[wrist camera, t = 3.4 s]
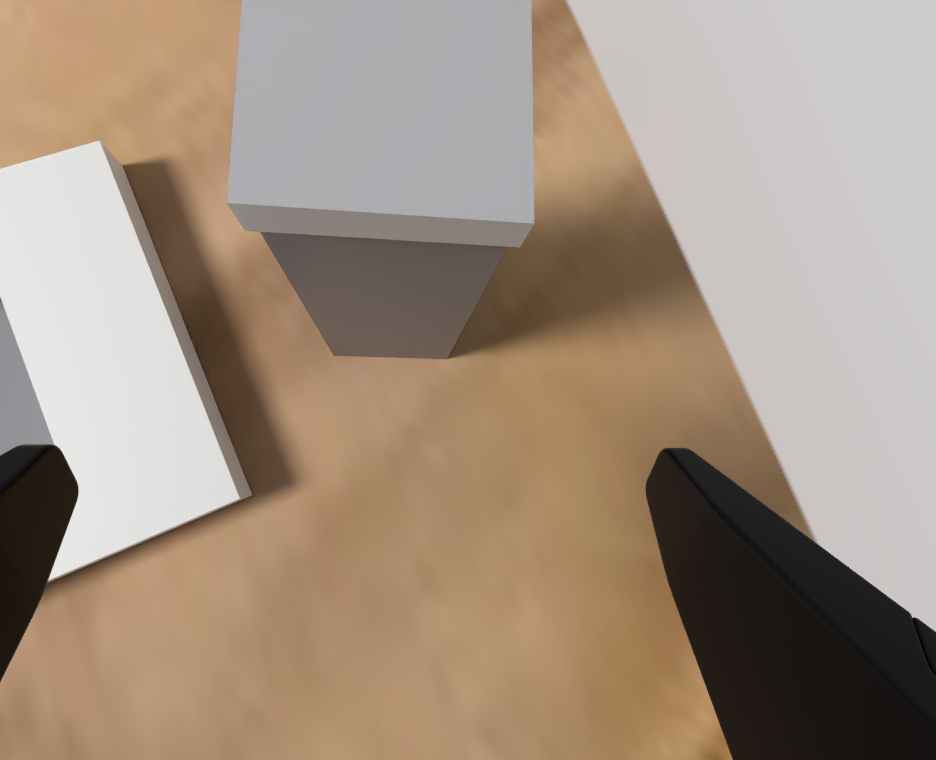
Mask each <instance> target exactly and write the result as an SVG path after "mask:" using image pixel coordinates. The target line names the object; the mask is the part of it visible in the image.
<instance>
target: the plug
mask: <svg viewBox="0 0 936 760" xmlns="http://www.w3.org/2000/svg"><path fill="white" fill-rule="evenodd" d="M227 204H228V205H229V207H230V208H231V210H232V211H233V213H234V215H235V216H236V218H237V219H238V221H239V222H240V224H241V225H242V227H243V228H244V230H245V231H257V232H261V234H262V236H263V237H264V239H265V241H266V242H267V244H268V246H269V247H270V249H271V251H272V252H273V254H274V256H275V258H276V259H277V261H278V263H279V264H280V266H281V268H282V269H283V271H284V273H285V274H286V276H287V278H288V279H289V281H290V283H291V284H292V286H293V288H294V289H295V291H296V293H297V295H298V296H299V298H300V300H301V301H302V303H303V305H304V306H305V308H306V310H307V311H308V313H309V315H310V316H311V318H312V320H313V321H314V323H315V325H316V326H317V328H318V330H319V331H320V333H321V335H322V337H323V338H324V340H325V342H326V343H327V345H328V347H329V348H330V350H331V352H332V353H333V355H334V356H365V357H398V358H431V359H447V358H448V356H449V354H450V352H451V351H452V349H453V347H454V345H455V343H456V341H457V340H458V338H459V336H460V334H461V332H462V330H463V328H464V327H465V325H466V323H467V321H468V319H469V317H470V316H471V314H472V312H473V310H474V308H475V306H476V305H477V303H478V301H479V299H480V297H481V295H482V294H483V292H484V290H485V288H486V286H487V284H488V282H489V281H490V279H491V277H492V275H493V273H494V271H495V270H496V268H497V266H498V264H499V262H500V260H501V259H502V257H503V255H504V253H505V251H506V249H507V247H521V245H522V243H523V242H524V240H525V238H526V237H527V235H528V234H529V232H530V230H531V229H532V227H533V225H534V157H533V90H532V23H531V0H242V10H241V24H240V37H239V50H238V63H237V76H236V89H235V102H234V116H233V129H232V142H231V155H230V168H229V181H228V195H227Z"/></svg>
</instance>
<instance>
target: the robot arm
mask: <svg viewBox="0 0 936 760" xmlns="http://www.w3.org/2000/svg"><path fill="white" fill-rule="evenodd" d="M78 494H79V488H78V483H77V480H76V478H75V476H74V474H73V472H72V470H71V468H70V466H69V464H68V462H67V460H66V458H65V456H64V454H63V452H62V451H61V449H60V448H59V447H57V446H56V445H53V444H21V445H18V446H16V447H14V448H12V449H10V450H9V451H7V452H5V453H3V454H2V455H0V682H1V680H2V677H3V675H4V673H5V671H6V669H7V667H8V665H9V663H10V661H11V659H12V657H13V655H14V653H15V651H16V649H17V647H18V645H19V643H20V641H21V639H22V637H23V635H24V633H25V631H26V629H27V627H28V625H29V623H30V621H31V619H32V617H33V615H34V613H35V610H36V608H37V606H38V604H39V602H40V600H41V597H42V595H43V592H44V590H45V587H46V585H47V582H48V579H49V577H50V574H51V571H52V568H53V566H54V563H55V560H56V557H57V555H58V552H59V549H60V546H61V544H62V541H63V538H64V536H65V533H66V530H67V527H68V525H69V522H70V519H71V516H72V514H73V511H74V508H75V505H76V503H77V499H78ZM646 497H647V501H648V505H649V509H650V513H651V517H652V521H653V525H654V529H655V533H656V537H657V541H658V545H659V549H660V553H661V557H662V561H663V565H664V569H665V573H666V576H667V580H668V583H669V586H670V589H671V592H672V595H673V598H674V600H675V603H676V606H677V609H678V611H679V614H680V617H681V619H682V622H683V625H684V628H685V630H686V633H687V636H688V639H689V641H690V644H691V647H692V650H693V652H694V655H695V658H696V660H697V663H698V666H699V669H700V671H701V674H702V677H703V680H704V682H705V685H706V688H707V690H708V693H709V696H710V699H711V701H712V704H713V707H714V710H715V712H716V715H717V718H718V720H719V723H720V726H721V729H722V731H723V734H724V737H725V740H726V742H727V745H728V748H729V750H730V753H731V756H732V759H733V760H936V632H935V631H934V630H932V629H931V628H930V627H928V626H927V625H926V624H924V623H923V622H922V621H920V620H919V619H917V618H912V616H911V614H910V613H909V612H908V611H906V610H905V609H904V608H903V607H901V606H900V605H898V604H897V603H896V602H894V601H893V600H892V599H890V598H889V597H887V596H886V595H885V594H884V593H882V592H881V591H880V590H878V589H877V588H876V587H874V586H873V585H872V584H870V583H869V582H867V581H866V580H865V579H864V578H862V577H861V576H859V575H858V574H857V573H856V572H854V571H853V570H851V569H850V568H849V567H847V566H846V565H845V564H843V563H842V562H841V561H839V560H838V559H837V558H835V557H834V556H833V555H831V554H830V553H829V552H827V551H826V550H825V549H823V548H822V547H821V546H819V545H818V544H817V543H815V542H814V541H813V540H811V539H810V538H808V537H807V536H806V535H804V534H803V533H802V532H800V531H799V530H798V529H796V528H795V527H794V526H792V525H791V524H790V523H788V522H787V521H786V520H784V519H783V518H782V517H780V516H779V515H778V514H776V513H775V512H774V511H772V510H771V509H769V508H768V507H767V506H765V505H764V504H763V503H761V502H760V501H759V500H757V499H756V498H755V497H753V496H752V495H751V494H749V493H748V492H747V491H745V490H744V489H743V488H741V487H740V486H739V485H737V484H736V483H735V482H733V481H732V480H731V479H729V478H728V477H726V476H725V475H724V474H722V473H721V472H720V471H718V470H717V469H716V468H714V467H713V466H712V465H710V464H709V463H708V462H706V461H705V460H704V459H702V458H701V457H700V456H698V455H697V454H696V453H694V452H693V451H691V450H690V449H687V448H665V449H663V450H662V451H660V453H659V455H658V457H657V459H656V461H655V464H654V466H653V468H652V470H651V473H650V475H649V477H648V479H647V482H646Z"/></svg>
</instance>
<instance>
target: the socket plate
mask: <svg viewBox="0 0 936 760" xmlns="http://www.w3.org/2000/svg"><path fill="white" fill-rule="evenodd" d="M21 444H53V445H56V446H57V447H59V448H60V449H61V451H62V452H63V454H64V456H65V458H66V460H67V462H68V464H69V466H70V468H71V470H72V472H73V474H74V476H75V478H76V480H77V483H78V488H79V494H78V499H77V503H76V505H75V508H74V511H73V514H72V516H71V519H70V522H69V525H68V527H67V530H66V533H65V536H64V538H63V541H62V544H61V546H60V549H59V552H58V555H57V557H56V560H55V563H54V566H53V568H52V571H51V574H50V577H49V579H48V582H51V581H53V580H55V579H58V578H60V577H62V576H65V575H67V574H69V573H72V572H74V571H76V570H79V569H81V568H83V567H86V566H88V565H90V564H93V563H95V562H97V561H100V560H102V559H104V558H107V557H109V556H111V555H114V554H116V553H118V552H121V551H123V550H125V549H128V548H130V547H132V546H135V545H137V544H139V543H142V542H144V541H146V540H149V539H151V538H153V537H156V536H158V535H160V534H163V533H165V532H167V531H170V530H172V529H174V528H177V527H179V526H181V525H184V524H186V523H188V522H191V521H193V520H195V519H198V518H200V517H202V516H205V515H207V514H210V513H212V512H214V511H217V510H219V509H221V508H224V507H226V506H228V505H231V504H233V503H235V502H238V501H240V500H242V499H245V498H247V497H249V496H252V493H251V491H250V488H249V486H248V483H247V481H246V478H245V476H244V473H243V471H242V468H241V465H240V463H239V460H238V458H237V455H236V453H235V450H234V448H233V445H232V443H231V440H230V438H229V435H228V432H227V430H226V427H225V425H224V422H223V420H222V417H221V415H220V412H219V410H218V407H217V405H216V402H215V399H214V397H213V394H212V392H211V389H210V387H209V384H208V382H207V379H206V377H205V374H204V372H203V369H202V366H201V364H200V361H199V359H198V356H197V354H196V351H195V349H194V346H193V344H192V341H191V339H190V336H189V334H188V331H187V328H186V326H185V323H184V321H183V318H182V316H181V313H180V311H179V308H178V306H177V303H176V301H175V298H174V295H173V293H172V290H171V288H170V285H169V283H168V280H167V278H166V275H165V273H164V270H163V268H162V265H161V262H160V260H159V257H158V255H157V252H156V250H155V247H154V245H153V242H152V240H151V237H150V235H149V232H148V229H147V227H146V224H145V222H144V219H143V217H142V214H141V212H140V209H139V207H138V204H137V202H136V199H135V196H134V194H133V191H132V189H131V186H130V184H129V181H128V179H127V176H126V174H125V171H124V169H123V166H122V164H121V163H120V162H119V161H118V160H117V159H116V158H115V157H114V156H113V154H112V153H111V152H110V151H109V150H108V149H107V148H106V147H105V146H104V145H103V144H102V143H101V142H100V141H96V142H93V143H89V144H86V145H82V146H79V147H75V148H72V149H68V150H65V151H61V152H58V153H54V154H51V155H47V156H44V157H40V158H37V159H33V160H30V161H26V162H23V163H19V164H16V165H12V166H9V167H5V168H2V169H0V455H2V454H3V453H5V452H7V451H9V450H10V449H12V448H14V447H16V446H18V445H21ZM48 582H47V583H48Z"/></svg>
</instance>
